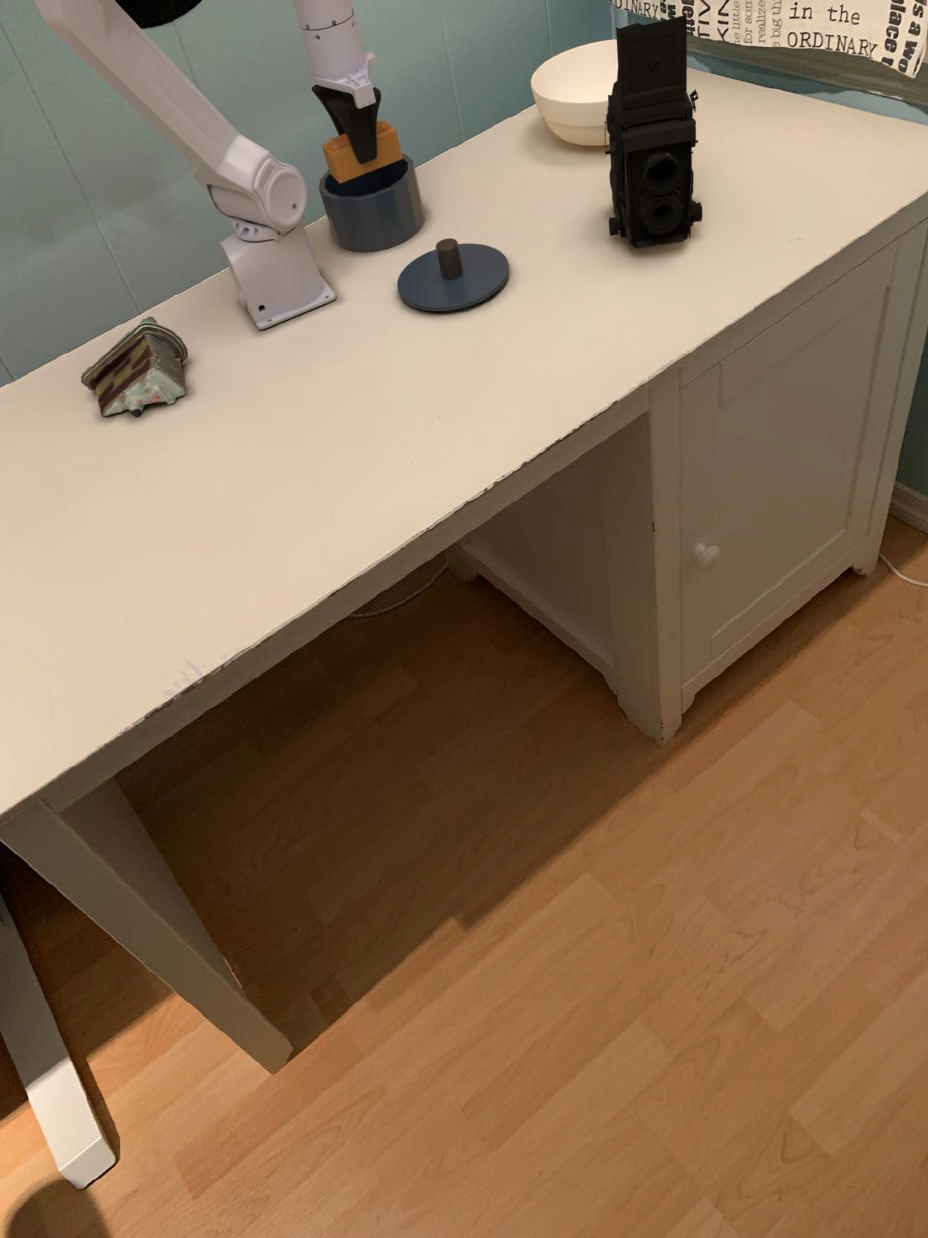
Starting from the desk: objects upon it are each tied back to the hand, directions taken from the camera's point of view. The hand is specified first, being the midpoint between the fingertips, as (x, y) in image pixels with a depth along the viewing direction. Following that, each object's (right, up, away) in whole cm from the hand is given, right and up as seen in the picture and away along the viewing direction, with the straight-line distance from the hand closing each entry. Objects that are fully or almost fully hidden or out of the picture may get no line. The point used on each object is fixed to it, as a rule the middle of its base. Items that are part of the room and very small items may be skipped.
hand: (361, 154), depth 100 cm
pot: (+1, -5, +8) cm, 9 cm away
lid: (+11, -16, -4) cm, 19 cm away
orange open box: (0, -1, +1) cm, 1 cm away
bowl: (+30, +10, +13) cm, 34 cm away
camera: (+33, -11, -4) cm, 35 cm away
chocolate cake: (-23, -30, -6) cm, 38 cm away
